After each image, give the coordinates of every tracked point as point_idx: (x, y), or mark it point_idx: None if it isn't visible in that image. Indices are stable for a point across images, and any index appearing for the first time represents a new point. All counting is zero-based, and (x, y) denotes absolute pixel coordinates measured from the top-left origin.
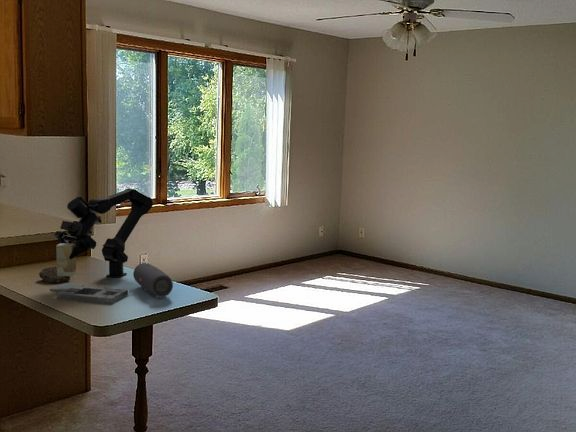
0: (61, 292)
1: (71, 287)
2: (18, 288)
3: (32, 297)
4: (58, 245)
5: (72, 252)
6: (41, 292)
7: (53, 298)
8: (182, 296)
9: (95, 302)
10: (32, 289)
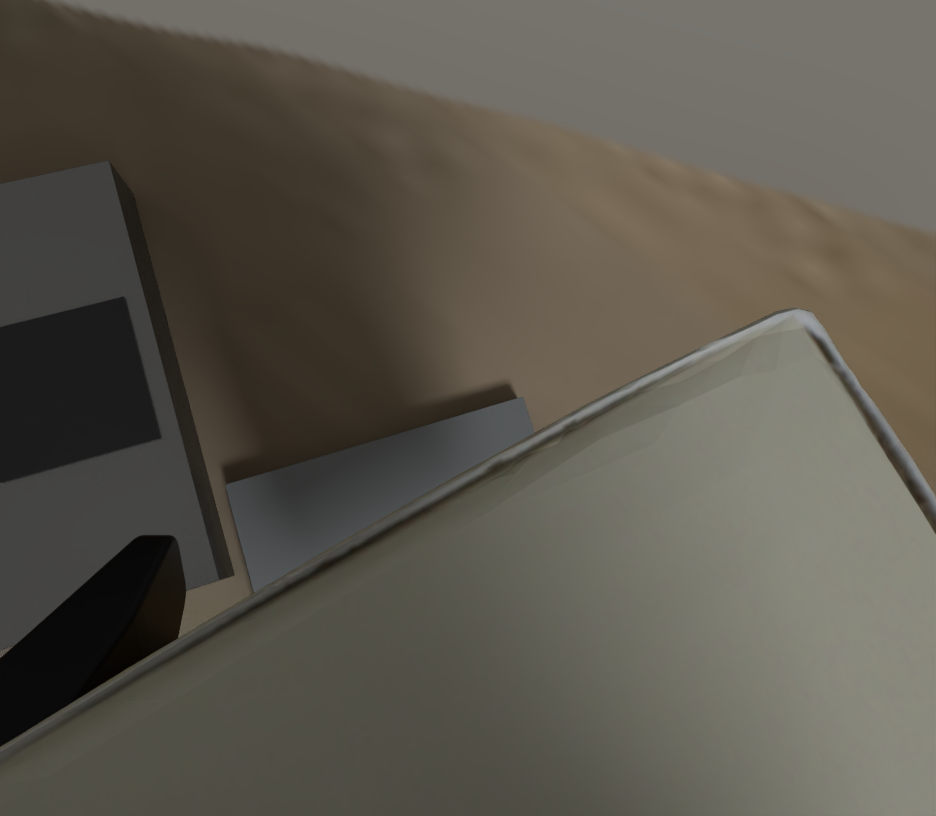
0: (104, 228)
1: (189, 475)
2: (871, 271)
3: (434, 109)
4: (704, 369)
5: (24, 685)
6: (527, 292)
7: (197, 193)
8: None
9: None
10: (719, 324)
